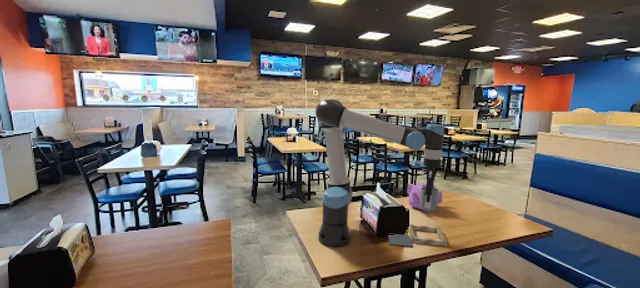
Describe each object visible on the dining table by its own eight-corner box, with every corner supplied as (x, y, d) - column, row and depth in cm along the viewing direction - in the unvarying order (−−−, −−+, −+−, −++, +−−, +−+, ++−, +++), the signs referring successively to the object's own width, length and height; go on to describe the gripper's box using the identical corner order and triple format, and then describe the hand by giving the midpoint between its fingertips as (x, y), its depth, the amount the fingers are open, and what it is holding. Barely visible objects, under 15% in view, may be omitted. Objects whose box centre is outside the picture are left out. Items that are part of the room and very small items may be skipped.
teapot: (433, 202, 179) (435, 179, 177) (444, 213, 162) (446, 189, 159) (403, 201, 180) (404, 179, 178) (411, 212, 162) (413, 188, 160)
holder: (412, 242, 128) (412, 238, 128) (408, 228, 142) (408, 224, 142) (446, 246, 125) (447, 241, 125) (439, 231, 140) (439, 227, 139)
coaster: (389, 244, 125) (389, 243, 125) (388, 234, 135) (388, 233, 135) (412, 247, 124) (412, 246, 124) (409, 236, 133) (409, 235, 133)
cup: (437, 208, 133) (439, 188, 132) (436, 214, 126) (438, 193, 125) (420, 205, 137) (422, 185, 135) (418, 210, 130) (420, 190, 128)
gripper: (440, 163, 117) (435, 214, 120) (442, 155, 135) (438, 199, 139) (421, 161, 120) (417, 211, 124) (425, 153, 138) (422, 197, 142)
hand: (428, 205), depth 131 cm, fingers closed on cup, 8 cm apart
